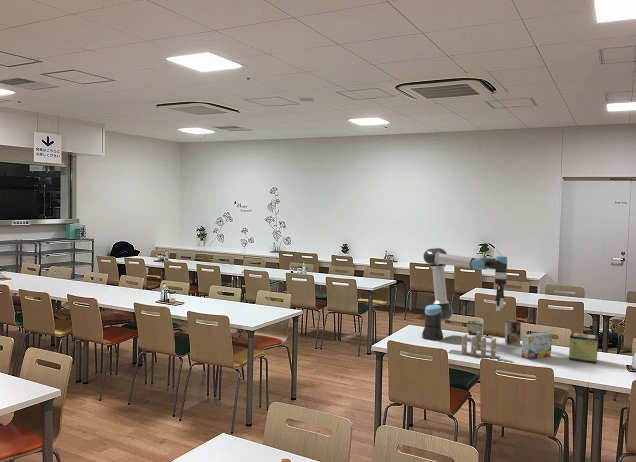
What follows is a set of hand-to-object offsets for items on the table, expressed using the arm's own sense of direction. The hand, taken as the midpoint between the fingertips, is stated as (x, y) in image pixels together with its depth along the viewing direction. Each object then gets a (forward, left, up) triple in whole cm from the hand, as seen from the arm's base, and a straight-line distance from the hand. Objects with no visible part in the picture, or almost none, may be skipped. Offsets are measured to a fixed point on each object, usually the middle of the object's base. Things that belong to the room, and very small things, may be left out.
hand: (499, 309), depth 364 cm
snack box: (+27, -19, -26) cm, 41 cm away
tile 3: (-8, -38, -25) cm, 46 cm away
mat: (-8, -38, -25) cm, 46 cm away
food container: (-20, +23, -25) cm, 40 cm away
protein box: (+53, -9, -26) cm, 59 cm away
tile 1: (+4, -38, -25) cm, 45 cm away
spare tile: (-9, -22, -25) cm, 34 cm away
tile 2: (-2, -38, -25) cm, 45 cm away
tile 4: (-14, -38, -25) cm, 47 cm away
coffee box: (+8, +8, -25) cm, 28 cm away
